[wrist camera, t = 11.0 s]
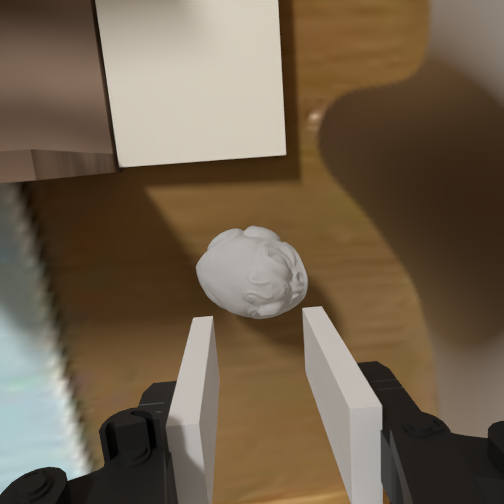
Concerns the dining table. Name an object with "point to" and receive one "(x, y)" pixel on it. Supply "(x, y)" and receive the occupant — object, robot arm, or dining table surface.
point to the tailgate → (193, 79)
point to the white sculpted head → (252, 273)
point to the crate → (53, 92)
